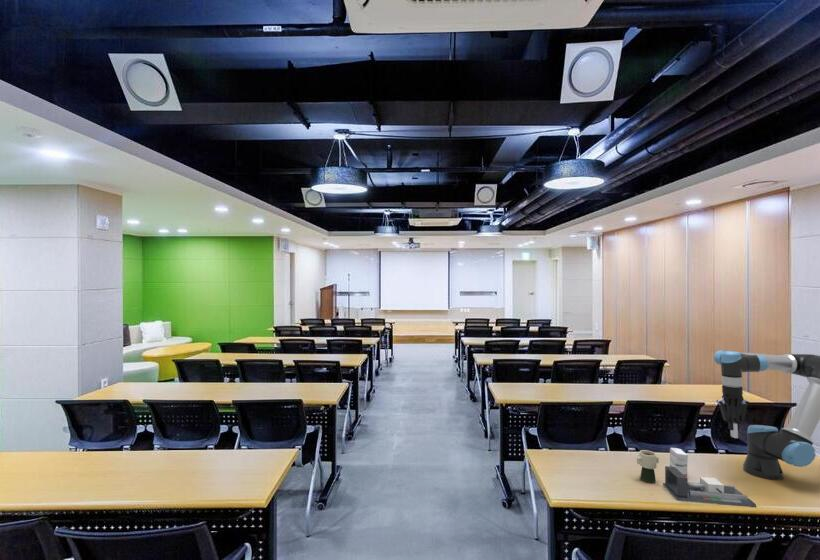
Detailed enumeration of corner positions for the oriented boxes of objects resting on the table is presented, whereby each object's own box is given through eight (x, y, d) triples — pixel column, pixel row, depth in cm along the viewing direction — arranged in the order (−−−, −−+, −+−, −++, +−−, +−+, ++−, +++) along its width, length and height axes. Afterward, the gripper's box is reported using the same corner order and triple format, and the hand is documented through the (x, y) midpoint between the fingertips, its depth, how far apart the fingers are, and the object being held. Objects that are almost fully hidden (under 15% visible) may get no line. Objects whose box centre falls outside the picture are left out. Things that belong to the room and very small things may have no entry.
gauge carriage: (714, 489, 186) (714, 478, 187) (729, 501, 176) (728, 489, 176) (685, 487, 188) (685, 475, 189) (697, 498, 178) (697, 486, 178)
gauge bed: (735, 491, 188) (735, 470, 188) (756, 507, 174) (755, 484, 175) (663, 485, 193) (663, 465, 193) (677, 500, 179) (677, 478, 180)
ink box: (688, 480, 199) (688, 454, 200) (676, 478, 200) (676, 453, 201) (680, 472, 208) (680, 448, 208) (669, 471, 209) (668, 447, 209)
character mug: (653, 476, 202) (653, 449, 202) (664, 483, 195) (663, 455, 195) (632, 477, 201) (632, 450, 201) (642, 484, 194) (642, 456, 194)
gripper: (741, 383, 197) (744, 434, 196) (711, 383, 198) (714, 434, 198) (753, 387, 189) (755, 440, 189) (721, 387, 191) (724, 439, 190)
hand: (734, 437), depth 193 cm, fingers closed
